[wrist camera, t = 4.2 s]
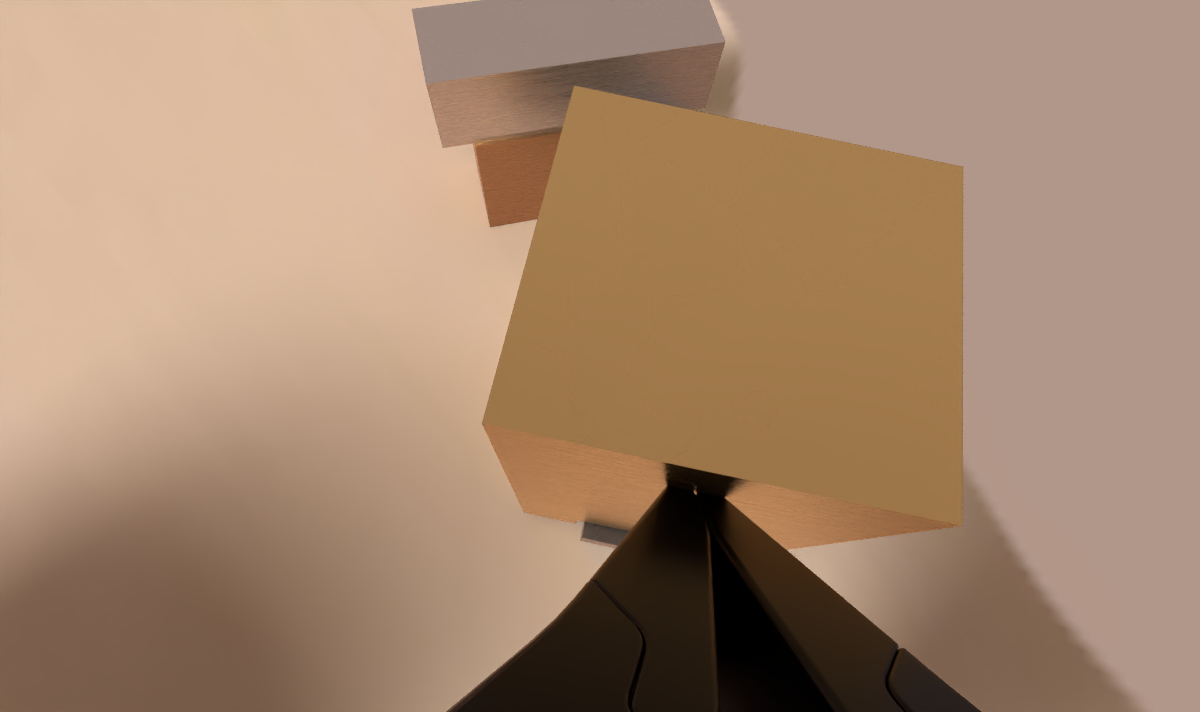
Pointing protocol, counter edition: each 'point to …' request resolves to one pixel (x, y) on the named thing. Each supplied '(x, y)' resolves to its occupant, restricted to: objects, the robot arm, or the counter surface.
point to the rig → (554, 85)
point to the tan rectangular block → (736, 328)
